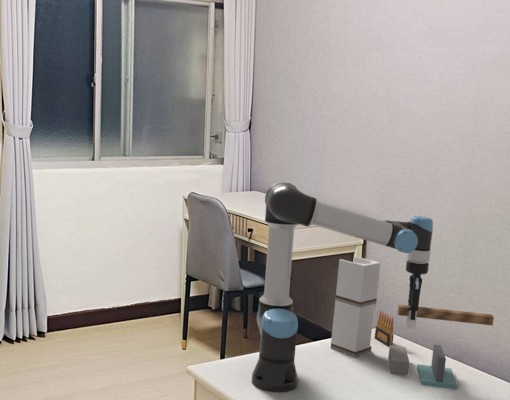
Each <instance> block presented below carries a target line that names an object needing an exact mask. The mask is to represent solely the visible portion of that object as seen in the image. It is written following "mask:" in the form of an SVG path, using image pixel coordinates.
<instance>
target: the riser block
mask: <svg viewBox="0 0 510 400" xmlns="http://www.w3.org/2000/svg"><path fill="white" fill-rule="evenodd" d="M387 355H388V357H387V360H388V366H389V371H390V373H389V374H392V375H398V376H406V377H408V376H409V370H410V359H409V355H408V351H407V347H405V346H397V345H393V346H391V345H390V346H389V347H388V354H387Z"/></svg>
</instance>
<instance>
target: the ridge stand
mask: <svg viewBox="0 0 510 400" xmlns="http://www.w3.org/2000/svg"><path fill="white" fill-rule="evenodd" d="M446 361H447V358H446V356H445V353H444V350H443V348H442V346H441V344H433V349H432V359H431V365H427V364H426V365H425V364H417V365H416V369H417V373H418V377H419V381H420V385H422V386H426V387H427V386H428V387H435V388H442V389H452V390H458V388H459V387H458V386H459V385H458V382H457V380H456V378H455V375H454V372H453V370H452V368H450V367H446Z"/></svg>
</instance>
